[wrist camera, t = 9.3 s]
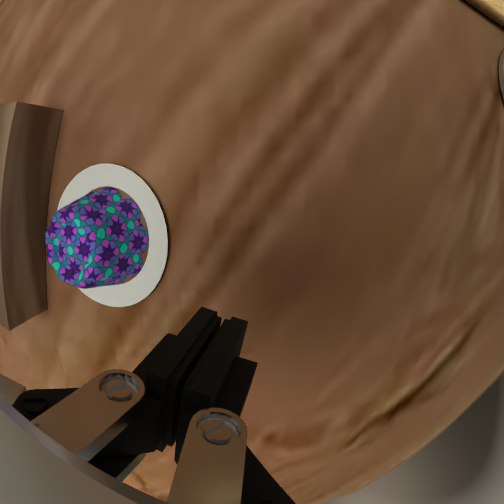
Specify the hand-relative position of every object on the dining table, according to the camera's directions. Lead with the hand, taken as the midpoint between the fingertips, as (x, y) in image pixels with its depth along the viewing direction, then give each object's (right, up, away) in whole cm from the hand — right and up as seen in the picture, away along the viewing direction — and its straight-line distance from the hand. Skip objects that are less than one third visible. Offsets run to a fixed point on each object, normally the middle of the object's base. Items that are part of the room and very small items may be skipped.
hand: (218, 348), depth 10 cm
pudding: (-11, +5, +13) cm, 17 cm away
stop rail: (-20, +7, +13) cm, 25 cm away
